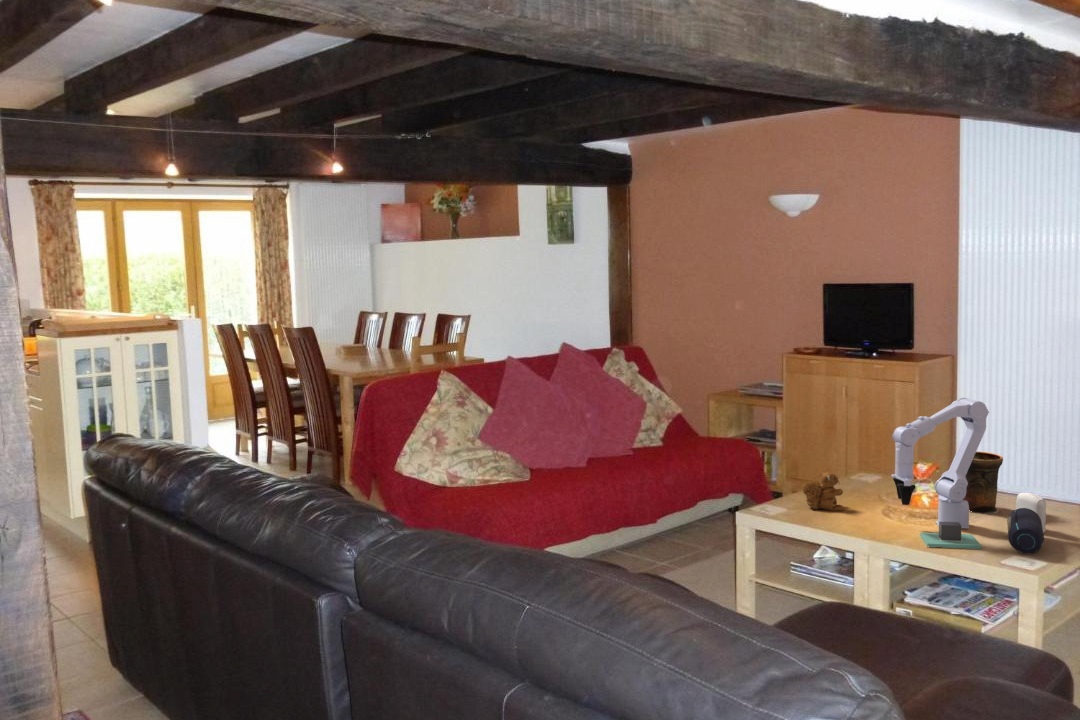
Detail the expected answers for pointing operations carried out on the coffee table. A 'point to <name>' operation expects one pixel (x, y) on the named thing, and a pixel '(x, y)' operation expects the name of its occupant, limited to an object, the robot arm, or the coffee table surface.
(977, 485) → the vessel
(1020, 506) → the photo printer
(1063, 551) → the coffee table surface
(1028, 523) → the portable speaker
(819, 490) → the stuffed squirrel
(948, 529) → the plug housing
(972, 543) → the header board
